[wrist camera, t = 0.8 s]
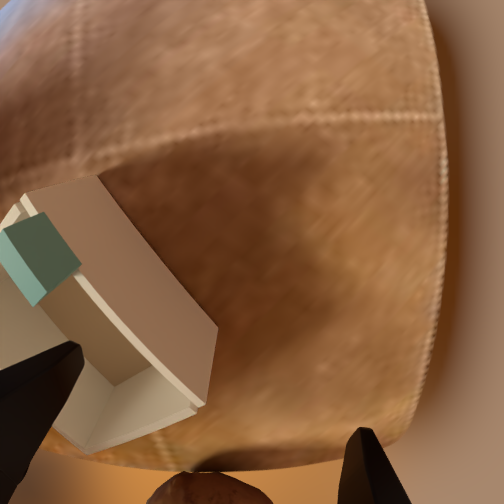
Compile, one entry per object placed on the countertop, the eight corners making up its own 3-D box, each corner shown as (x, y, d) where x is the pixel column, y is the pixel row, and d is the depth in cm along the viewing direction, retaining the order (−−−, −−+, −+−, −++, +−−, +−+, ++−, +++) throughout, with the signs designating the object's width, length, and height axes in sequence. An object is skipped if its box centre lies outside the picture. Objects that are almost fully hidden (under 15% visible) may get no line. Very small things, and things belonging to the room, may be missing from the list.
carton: (117, 389, 25) (86, 455, 17) (12, 268, 21) (-48, 310, 14) (211, 335, 23) (196, 413, 15) (87, 181, 19) (14, 203, 12)
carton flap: (209, 333, 23) (185, 452, 12) (87, 182, 19) (-26, 219, 9) (222, 325, 23) (204, 445, 12) (99, 171, 19) (-15, 200, 9)
